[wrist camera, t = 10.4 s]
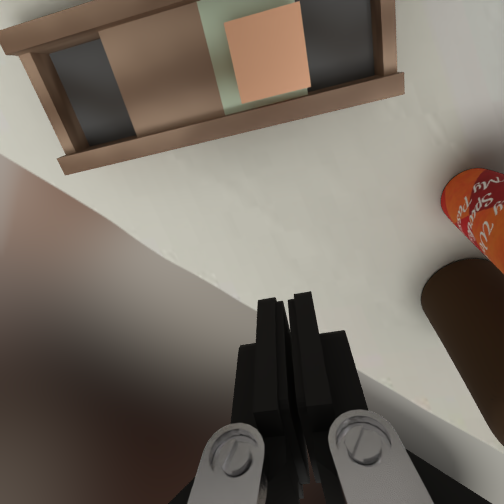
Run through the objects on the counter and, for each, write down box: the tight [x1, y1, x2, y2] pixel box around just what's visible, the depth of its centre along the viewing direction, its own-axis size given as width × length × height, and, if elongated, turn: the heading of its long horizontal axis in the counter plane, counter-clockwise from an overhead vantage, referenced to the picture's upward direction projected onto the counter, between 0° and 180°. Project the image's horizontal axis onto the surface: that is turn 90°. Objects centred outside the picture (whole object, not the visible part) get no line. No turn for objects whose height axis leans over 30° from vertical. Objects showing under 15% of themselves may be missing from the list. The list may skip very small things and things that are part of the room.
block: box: [224, 1, 311, 104], centre depth 25 cm, size 5×5×4 cm
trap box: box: [0, 0, 405, 175], centre depth 27 cm, size 11×29×4 cm, turn 103°
